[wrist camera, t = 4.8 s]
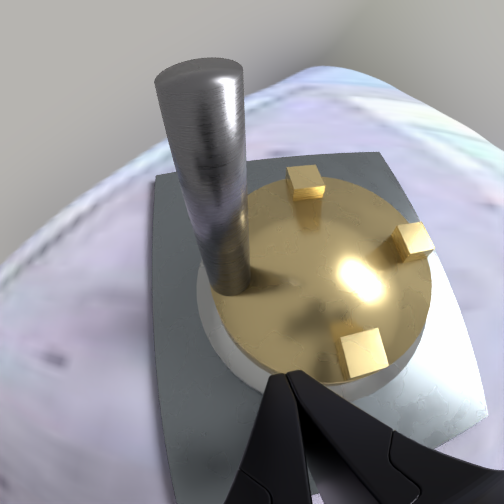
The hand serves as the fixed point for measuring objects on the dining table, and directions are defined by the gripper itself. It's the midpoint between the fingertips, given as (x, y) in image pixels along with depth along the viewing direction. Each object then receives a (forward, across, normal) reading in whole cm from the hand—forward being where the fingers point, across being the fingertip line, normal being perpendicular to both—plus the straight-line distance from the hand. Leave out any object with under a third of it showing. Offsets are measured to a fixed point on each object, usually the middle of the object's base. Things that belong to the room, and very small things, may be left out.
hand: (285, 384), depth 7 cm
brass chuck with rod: (+9, -4, +1) cm, 10 cm away
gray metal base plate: (+10, -4, +2) cm, 11 cm away
